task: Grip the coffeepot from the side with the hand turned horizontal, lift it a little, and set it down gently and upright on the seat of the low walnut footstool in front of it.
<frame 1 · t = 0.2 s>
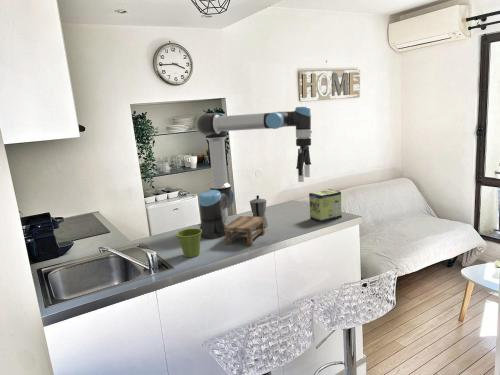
hand: (304, 179, 196), 28 cm above the worktop, tool pointing down, fingers open, 13 cm apart
protein box: (325, 218, 221), on the worktop
coffeepot: (259, 227, 214), on the worktop
stool: (246, 238, 195), on the worktop
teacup: (221, 220, 234), on the worktop
plant pot: (191, 255, 178), on the worktop
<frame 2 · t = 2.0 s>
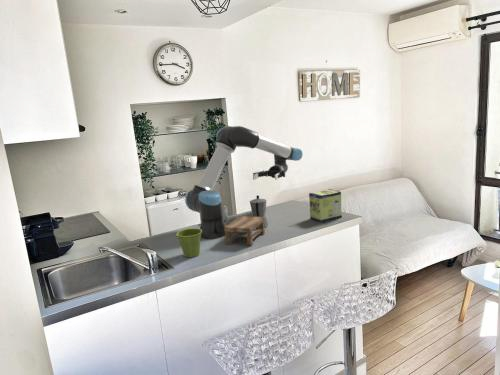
hand: (264, 177, 220), 26 cm above the worktop, tool horizontal, fingers open, 13 cm apart
nothing on the worktop moved.
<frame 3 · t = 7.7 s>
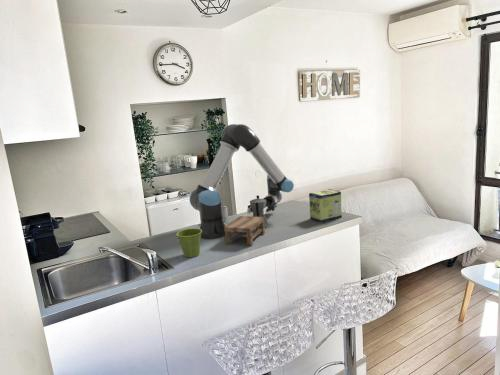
hand: (255, 211, 208), 10 cm above the worktop, tool horizontal, fingers open, 8 cm apart
coffeepot: (259, 227, 214), on the worktop, touching gripper
everything else where it was.
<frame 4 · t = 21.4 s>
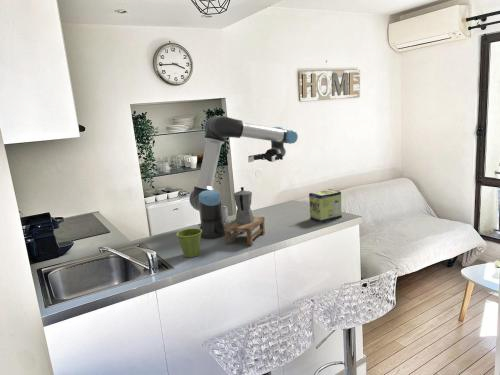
hand: (260, 159, 206), 38 cm above the worktop, tool horizontal, fingers open, 13 cm apart
coffeepot: (244, 222, 193), point 9 cm above the worktop, touching stool
everything else where it was.
at the end: coffeepot inside the target area on the stool (0.4 cm from its centre), point 8.8 cm above the stool's base; coffeepot tilted 0°; the gripper is holding nothing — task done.
